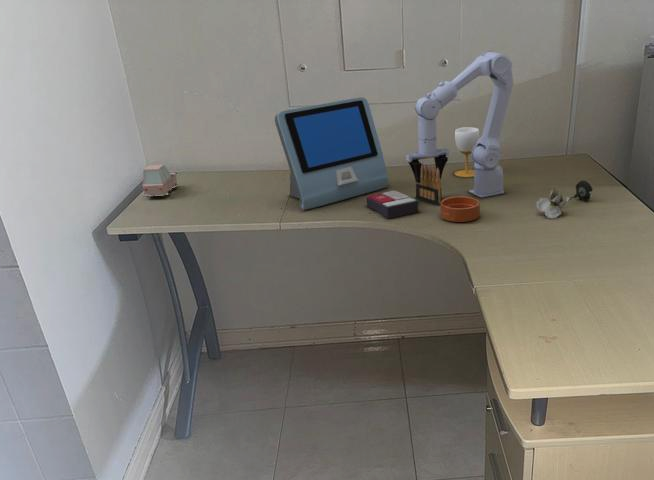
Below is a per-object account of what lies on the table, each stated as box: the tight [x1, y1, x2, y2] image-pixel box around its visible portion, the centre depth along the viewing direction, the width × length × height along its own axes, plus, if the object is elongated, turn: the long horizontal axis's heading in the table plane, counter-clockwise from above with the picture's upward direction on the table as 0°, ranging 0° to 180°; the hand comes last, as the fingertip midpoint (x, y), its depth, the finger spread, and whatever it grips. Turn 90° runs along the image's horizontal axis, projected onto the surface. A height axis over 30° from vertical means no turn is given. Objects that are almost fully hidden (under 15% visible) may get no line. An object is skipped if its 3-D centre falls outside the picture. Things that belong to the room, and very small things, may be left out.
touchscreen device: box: [274, 97, 389, 211], centre depth 214 cm, size 35×20×30 cm, turn 131°
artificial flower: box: [536, 180, 594, 219], centre depth 201 cm, size 9×22×10 cm, turn 130°
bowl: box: [439, 196, 481, 223], centre depth 197 cm, size 12×12×4 cm
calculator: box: [366, 190, 419, 219], centre depth 205 cm, size 11×4×15 cm
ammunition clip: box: [415, 163, 443, 206], centre depth 209 cm, size 11×2×12 cm, turn 43°
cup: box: [454, 126, 480, 178], centre depth 234 cm, size 9×9×16 cm
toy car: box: [141, 164, 178, 197], centre depth 226 cm, size 9×15×10 cm, turn 1°
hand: (428, 180), depth 209 cm, fingers open, 7 cm apart
